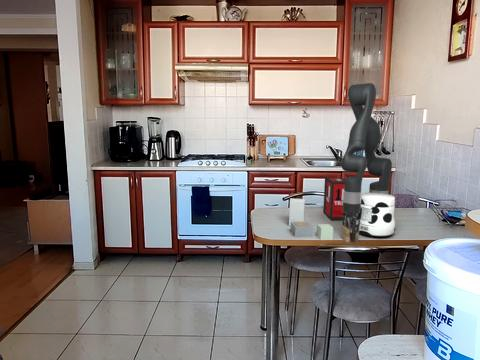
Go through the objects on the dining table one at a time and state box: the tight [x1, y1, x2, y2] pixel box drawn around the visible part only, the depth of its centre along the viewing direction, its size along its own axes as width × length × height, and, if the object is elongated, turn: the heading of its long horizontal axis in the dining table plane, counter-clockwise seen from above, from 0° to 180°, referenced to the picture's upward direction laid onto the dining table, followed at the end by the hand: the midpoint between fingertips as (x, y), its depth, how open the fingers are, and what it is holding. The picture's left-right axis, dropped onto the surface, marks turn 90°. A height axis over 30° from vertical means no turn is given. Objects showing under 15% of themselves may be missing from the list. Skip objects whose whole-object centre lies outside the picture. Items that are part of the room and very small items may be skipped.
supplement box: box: [288, 198, 306, 227], centre depth 195 cm, size 7×7×13 cm
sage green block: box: [316, 223, 334, 241], centre depth 176 cm, size 6×6×6 cm
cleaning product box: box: [322, 176, 345, 222], centre depth 210 cm, size 16×9×20 cm, turn 2°
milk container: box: [357, 192, 396, 238], centre depth 181 cm, size 17×17×18 cm
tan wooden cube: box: [340, 225, 360, 243], centre depth 173 cm, size 6×6×6 cm
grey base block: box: [290, 221, 314, 238], centre depth 181 cm, size 8×8×5 cm
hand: (349, 238), depth 174 cm, fingers closed on tan wooden cube, 5 cm apart
